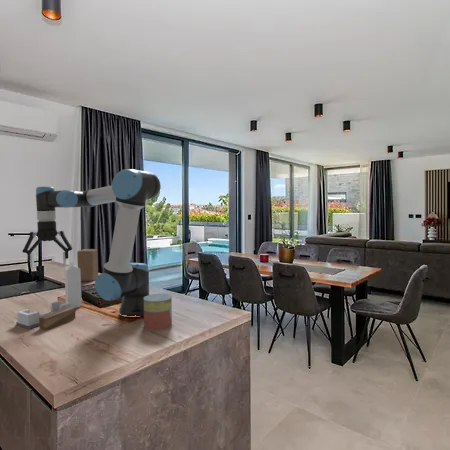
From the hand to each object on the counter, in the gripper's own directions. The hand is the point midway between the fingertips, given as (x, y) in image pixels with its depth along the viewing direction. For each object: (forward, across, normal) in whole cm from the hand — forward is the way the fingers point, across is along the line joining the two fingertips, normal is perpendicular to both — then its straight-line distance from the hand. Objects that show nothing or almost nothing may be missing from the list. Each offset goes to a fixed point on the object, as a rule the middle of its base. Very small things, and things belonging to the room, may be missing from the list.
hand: (48, 266), depth 153 cm
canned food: (+22, -47, +32) cm, 61 cm away
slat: (+22, -6, +17) cm, 28 cm away
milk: (+22, -9, -6) cm, 24 cm away
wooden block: (+21, -8, -67) cm, 71 cm away
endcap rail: (+21, 0, +10) cm, 24 cm away
